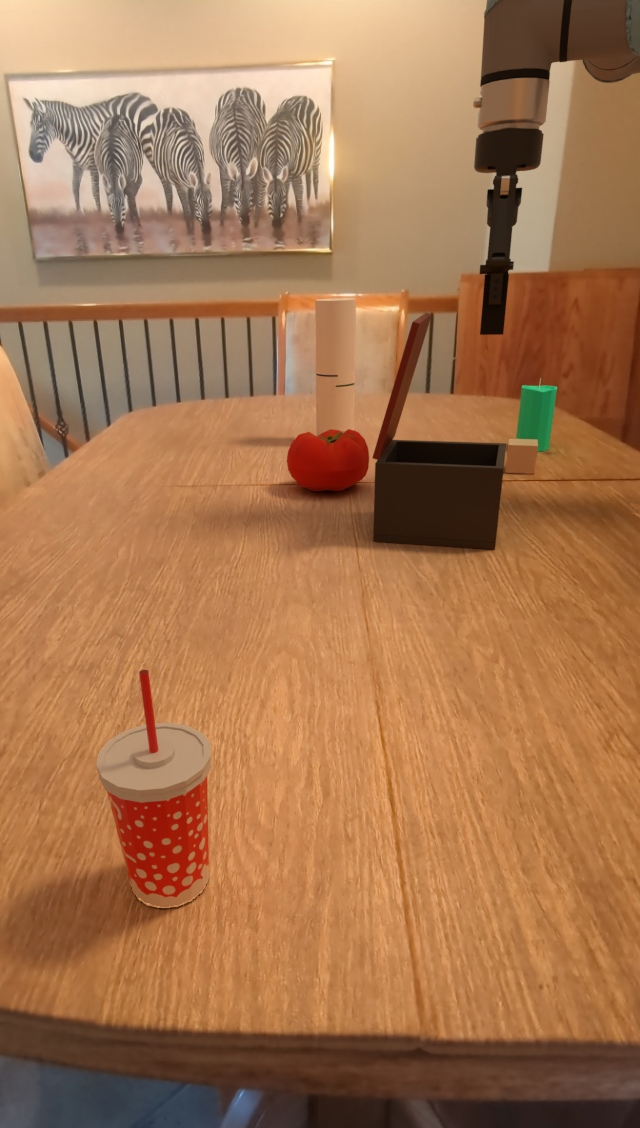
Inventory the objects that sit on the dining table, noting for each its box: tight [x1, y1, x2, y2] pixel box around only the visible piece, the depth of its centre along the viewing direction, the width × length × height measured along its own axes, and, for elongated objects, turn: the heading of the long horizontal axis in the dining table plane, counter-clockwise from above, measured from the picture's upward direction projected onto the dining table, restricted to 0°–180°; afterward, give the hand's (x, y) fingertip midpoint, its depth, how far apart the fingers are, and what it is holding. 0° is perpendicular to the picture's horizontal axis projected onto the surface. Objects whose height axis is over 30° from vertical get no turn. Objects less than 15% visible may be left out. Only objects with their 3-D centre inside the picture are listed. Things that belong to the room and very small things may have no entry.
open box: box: [372, 439, 507, 551], centre depth 96 cm, size 15×13×10 cm
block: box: [504, 438, 538, 475], centre depth 122 cm, size 4×4×4 cm
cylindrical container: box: [314, 297, 357, 436], centre depth 139 cm, size 7×7×25 cm
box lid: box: [372, 312, 433, 461], centre depth 91 cm, size 16×13×1 cm
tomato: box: [286, 429, 370, 493], centre depth 114 cm, size 13×12×8 cm
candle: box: [515, 377, 558, 453], centre depth 133 cm, size 6×6×12 cm
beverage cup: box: [95, 669, 212, 907], centre depth 41 cm, size 6×6×14 cm
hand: (492, 329), depth 97 cm, fingers open, 13 cm apart
